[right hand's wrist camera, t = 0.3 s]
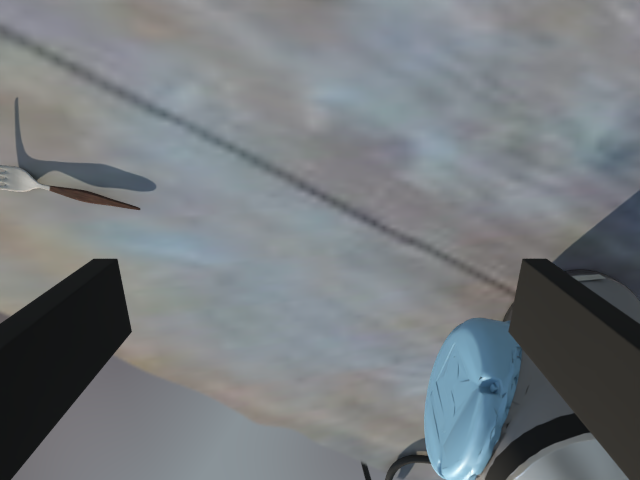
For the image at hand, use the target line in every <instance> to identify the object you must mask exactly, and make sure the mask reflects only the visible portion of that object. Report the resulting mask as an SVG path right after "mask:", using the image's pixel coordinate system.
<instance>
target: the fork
mask: <svg viewBox="0 0 640 480" xmlns="http://www.w3.org/2000/svg"><path fill="white" fill-rule="evenodd" d="M0 169H3V170H5V172H0V176H4V177H5V179H0V182H1V183H5V184H6V185H4V186H0V189H4V190H10V191H17V192H24V191H29V190H32V189H35V188H43V189H46V190H49V191H52V192H55V193H58V194H61V195H64V196H67V197H70V198H73V199H76V200H79V201H83V202H88V203H94V204H101V205H109V206H116V207H122V208H128V209H135V210H140V208H138V207H136V206H132V205H129V204H126V203H123V202H120V201H116V200H113V199H110V198H107V197H104V196H101V195H98V194H95V193H92V192H88V191H84V190H78V189H71V188H63V187H55V186H48V185H43V184H40V183H39V182H37V181H36V180H35V179H34V178H33V177H32V176H31V175H30V174H29V173H28V172H26V171H25V170H23V169H21V168H19V167H15V166H2V165H0Z"/></svg>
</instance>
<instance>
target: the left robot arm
mask: <svg viewBox="0 0 640 480" xmlns="http://www.w3.org/2000/svg"><path fill="white" fill-rule="evenodd" d="M565 272H566V273H567V274H569V275H570V276H572V277H573V278H575V279H576V280H578V281H579V282H580V283H582V284H583V285H585V286H586V287H588V288H589V289H590V290H592V291H593V292H595V293H596V294H598V295H599V296H601V297H602V298H603V299H605V300H606V301H608V302H609V303H611V304H612V305H613V306H615V307H616V308H618V309H619V310H621V311H622V312H624V313H625V314H626V315H628V316H629V317H631V318H632V319H634V320H635V321H636V322H638V323H639V324H640V301H639V300H638V298H637V297H636V296H635V294H634V293H633V292H632V291H631V290H630V289H628V288H627V287H626V286H624V285H623V284H621V283H619V282H618V281H616V280H614V279H613V278H611V277H609V276H607V275H605V274H602V273H599V272H595V271H590V270H571V271H565ZM513 305H514V302H513V304H512V305H511V306H510V308H509V309H508V311H507V313H506V315H505V317H504V320H503V322H502V321H496V320H491V319H485V318H473V319H469V320H467V321H465V322H464V323H462V324H460V325H459V326H457V327H456V328H455V329H454V330H453V331H452V332H451V333H450V334H449V336H448V337H447V339H446V340H445V342H444V344H443V345H442V347H441V349H440V351H439V353H438V356H437V358H436V361H435V363H434V367H433V370H432V373H431V376H430V381H429V385H428V390H427V397H426V403H425V416H424V430H425V441H426V449H427V453H428V456H425V455H411V456H406V457H403V458H401V459H399V460H397V461H396V462H395V463H393V465H392V466H391V467H390V469H389V470H388V472H387V475H386V478H385V480H392V479H393V476H394V475H395V473H396V471H397V470H398V469H399V468H401V467H402V466H404V465H406V464H410V463H429V464H432V466H433V468H434V470H435V471H436V473H437V474H438V475H439V476H440V477H442V478H444V479H447V480H629V479H628V478H627V476H626V475H625V474H624V473H623V472H622V470H621V469H620V468H619V467H618V465H617V464H616V463H615V462H614V461H613V459H612V458H611V457H610V456H609V454H608V453H607V452H606V451H605V450H604V448H603V447H602V446H601V445H600V443H599V442H598V441H597V440H596V439H595V437H594V436H593V435H592V434H591V432H590V431H589V430H588V429H587V428H586V426H585V425H584V424H583V423H582V421H581V420H580V419H579V418H578V416H577V415H576V414H575V413H574V412H573V410H572V409H571V408H570V407H569V405H568V404H567V403H566V402H565V401H564V399H563V398H562V397H561V396H560V394H559V393H558V392H557V391H556V390H555V388H554V387H553V386H552V385H551V383H550V382H549V381H548V380H547V379H546V377H545V376H544V375H543V374H542V372H541V371H540V370H539V369H538V368H537V366H536V365H535V364H534V363H533V361H532V360H531V359H530V358H529V357H528V355H527V354H526V353H525V352H524V350H523V349H522V348H521V347H520V346H519V344H518V343H517V342H516V341H515V339H514V338H513V337H512V336H511V335H510V333H509V332H508V331H509V326H510V321H511V315H512V310H513ZM361 465H362V469H363V473H364V476H365V480H371V477H370V473H369V470H368V466H367V464H365V463H363V462H361Z"/></svg>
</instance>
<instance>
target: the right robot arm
mask: <svg viewBox="0 0 640 480" xmlns="http://www.w3.org/2000/svg"><path fill="white" fill-rule="evenodd" d="M131 332H132V331H131V326H130V321H129V315H128V310H127V305H126V300H125V295H124V290H123V285H122V280H121V275H120V270H119V265H118V260H117V259H93V260H91V261H90V262H88V263H87V264H85V265H84V266H83V267H81V268H80V269H78V270H77V271H75V272H74V273H73V274H71V275H70V276H68V277H67V278H65V279H64V280H62V281H61V282H60V283H58V284H57V285H55V286H54V287H52V288H51V289H50V290H48V291H47V292H45V293H44V294H42V295H41V296H39V297H38V298H37V299H35V300H34V301H32V302H31V303H29V304H28V305H27V306H25V307H24V308H22V309H21V310H19V311H18V312H16V313H15V314H14V315H12V316H11V317H9V318H8V319H6V320H5V321H4V322H2V323H1V324H0V480H11V479H12V478H13V476H14V475H15V474H16V473H17V472H18V470H19V469H20V468H21V467H22V465H23V464H24V463H25V462H26V460H27V459H28V458H29V457H30V456H31V454H32V453H33V452H34V451H35V450H36V448H37V447H38V446H39V445H40V443H41V442H42V441H43V440H44V438H45V437H46V436H47V435H48V434H49V432H50V431H51V430H52V429H53V428H54V426H55V425H56V424H57V423H58V421H59V420H60V419H61V418H62V416H63V415H64V414H65V413H66V412H67V410H68V409H69V408H70V407H71V405H72V404H73V403H74V402H75V401H76V399H77V398H78V397H79V396H80V394H81V393H82V392H83V391H84V390H85V388H86V387H87V386H88V385H89V383H90V382H91V381H92V380H93V379H94V377H95V376H96V375H97V374H98V372H99V371H100V370H101V369H102V368H103V366H104V365H105V364H106V363H107V361H108V360H109V359H110V358H111V357H112V355H113V354H114V353H115V352H116V350H117V349H118V348H119V347H120V346H121V344H122V343H123V342H124V341H125V339H126V338H127V337H128V336H129V335H130V333H131ZM508 332H509V333H510V335H511V336H512V337H513V338H514V339H515V341H516V342H517V343H518V344H519V346H520V347H521V348H522V349H523V350H524V352H525V353H526V354H527V355H528V357H529V358H530V359H531V360H532V361H533V363H534V364H535V365H536V366H537V368H538V369H539V370H540V371H541V372H542V374H543V375H544V376H545V377H546V379H547V380H548V381H549V382H550V383H551V385H552V386H553V387H554V388H555V390H556V391H557V392H558V393H559V394H560V396H561V397H562V398H563V399H564V401H565V402H566V403H567V404H568V405H569V407H570V408H571V409H572V410H573V412H574V413H575V414H576V415H577V416H578V418H579V419H580V420H581V421H582V423H583V424H584V425H585V426H586V428H587V429H588V430H589V431H590V432H591V434H592V435H593V436H594V437H595V439H596V440H597V441H598V442H599V443H600V445H601V446H602V447H603V448H604V450H605V451H606V452H607V453H608V454H609V456H610V457H611V458H612V459H613V461H614V462H615V463H616V464H617V465H618V467H619V468H620V469H621V470H622V472H623V473H624V474H625V475H626V476H627V478H628V479H629V480H640V324H639V323H638V322H636V321H635V320H634V319H632V318H631V317H629V316H628V315H626V314H625V313H624V312H622V311H621V310H619V309H618V308H616V307H615V306H613V305H612V304H611V303H609V302H608V301H606V300H605V299H603V298H602V297H601V296H599V295H598V294H596V293H595V292H593V291H592V290H590V289H589V288H588V287H586V286H585V285H583V284H582V283H580V282H579V281H578V280H576V279H575V278H573V277H572V276H570V275H569V274H567V273H566V272H565V271H563V270H562V269H560V268H559V267H557V266H556V265H555V264H553V263H552V262H550V261H549V260H547V259H523V260H522V265H521V270H520V275H519V280H518V285H517V290H516V295H515V300H514V305H513V310H512V315H511V321H510V326H509V331H508Z"/></svg>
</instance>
